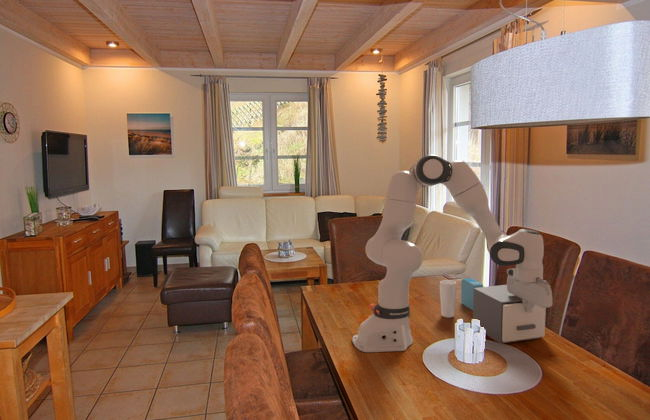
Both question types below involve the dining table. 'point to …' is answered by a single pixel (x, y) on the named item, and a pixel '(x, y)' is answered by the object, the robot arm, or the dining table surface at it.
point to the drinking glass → (447, 297)
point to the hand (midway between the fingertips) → (528, 312)
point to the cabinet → (493, 309)
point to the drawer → (522, 322)
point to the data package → (468, 291)
